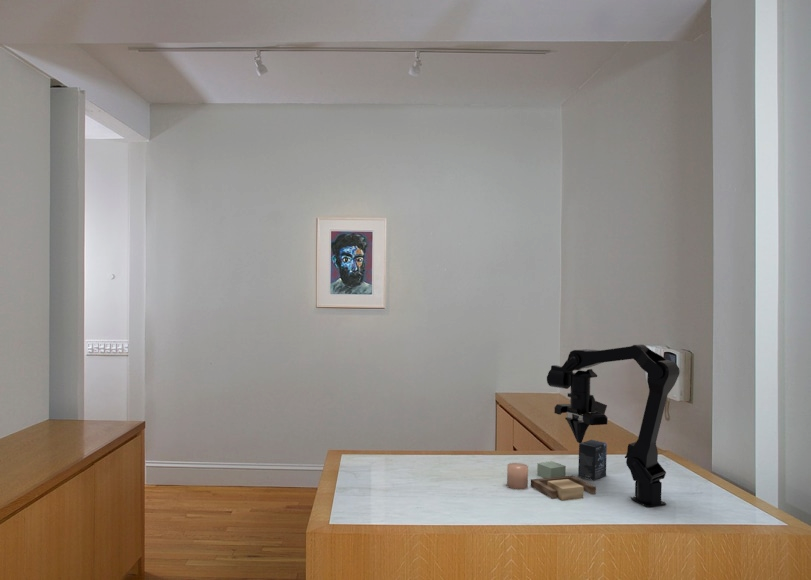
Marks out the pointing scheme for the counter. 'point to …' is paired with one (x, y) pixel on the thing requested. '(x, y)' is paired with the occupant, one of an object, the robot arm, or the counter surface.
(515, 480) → the tan round cylinder
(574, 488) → the oak block
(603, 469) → the box
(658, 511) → the counter surface
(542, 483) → the walnut bay
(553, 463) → the matte sage squarish block
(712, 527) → the counter surface
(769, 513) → the counter surface
